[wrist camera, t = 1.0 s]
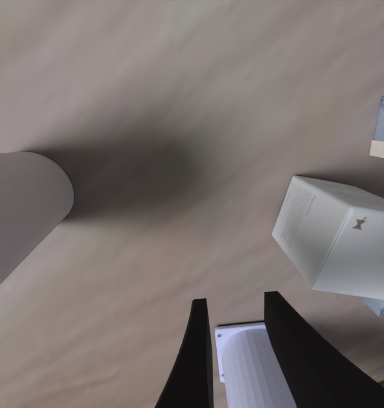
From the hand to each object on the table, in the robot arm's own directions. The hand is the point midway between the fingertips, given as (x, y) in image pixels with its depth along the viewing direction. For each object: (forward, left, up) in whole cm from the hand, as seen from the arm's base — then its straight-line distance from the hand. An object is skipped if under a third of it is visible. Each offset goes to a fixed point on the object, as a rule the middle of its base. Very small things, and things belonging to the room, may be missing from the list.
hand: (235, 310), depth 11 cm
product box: (0, -9, -10) cm, 14 cm away
